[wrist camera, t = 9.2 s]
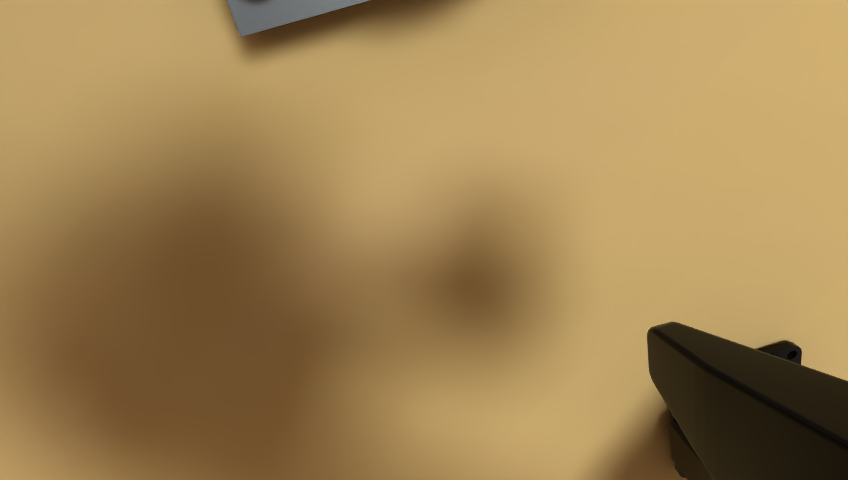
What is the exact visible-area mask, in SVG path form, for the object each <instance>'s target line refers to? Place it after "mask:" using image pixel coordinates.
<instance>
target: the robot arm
mask: <svg viewBox="0 0 848 480" xmlns="http://www.w3.org/2000/svg"><path fill="white" fill-rule="evenodd" d="M647 345H648V362H649V372H650V375H651V378H652V381H653V383H654V384H655V386H656V388H657V389H658V391H659V393H660V394H661V396H662V398H663V399H664V401H665V403H666V404H667V406H668V408H669V409H670V411H671V419H670V422H669V432H670V445H671V457H672V459H673V461H674V462H675V469H676V471H677V472H678V473H679V475H680V476H681V477H684V478H687V479H688V480H848V381H846V380H843V379H840V378H837V377H834V376H831V375H829V374H826V373H823V372H820V371H817V370H814V369H811V368H808V367H805V366H802V365H801V355H802V351H801V348H800V347H798V346H797V345H796V344H794V343H793V342H785V343H781V344H778V345H775V346H772V347H769V348H766V349H763V350H760V351H759V350H756V349H753V348H750V347H747V346H744V345H741V344H738V343H735V342H732V341H730V340H727V339H724V338H721V337H718V336H715V335H712V334H709V333H706V332H703V331H700V330H698V329H695V328H692V327H689V326H686V325H683V324H680V323H677V322H668V323H665V324H661V325H657V326H654V327H651V328H650V329H649V330H648V333H647Z"/></svg>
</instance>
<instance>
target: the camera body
mask: <svg viewBox="0 0 848 480" xmlns="http://www.w3.org/2000/svg"><path fill="white" fill-rule="evenodd" d="M366 1H370V0H227V2H228V5H229V8H230V10H231V13H232V16H233V18H234V21H235V23H236V26H237V29H238V31H239V34H240V37H242V36H246V35H249V34H253V33H257V32H260V31H264V30H267V29H271V28H274V27H278V26H282V25H285V24H289V23H292V22H296V21H299V20H303V19H306V18H310V17H313V16H317V15H320V14H324V13H328V12H331V11H335V10H338V9H342V8H345V7H349V6H352V5H356V4H359V3H363V2H366Z"/></svg>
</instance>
